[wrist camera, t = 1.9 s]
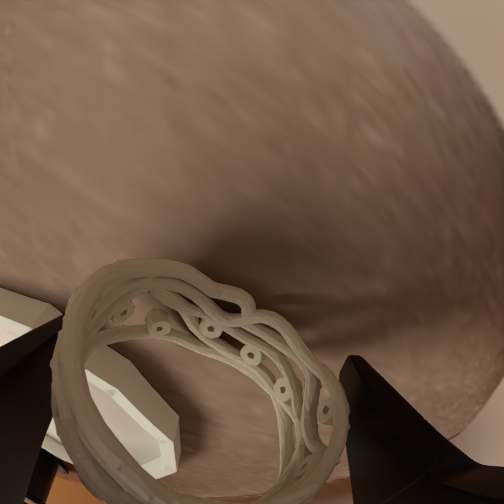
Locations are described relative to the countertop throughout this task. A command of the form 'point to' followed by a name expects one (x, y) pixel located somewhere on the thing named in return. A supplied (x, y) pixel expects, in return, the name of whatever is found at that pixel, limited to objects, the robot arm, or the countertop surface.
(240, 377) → the countertop surface
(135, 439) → the ring dish
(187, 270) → the bracelet
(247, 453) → the countertop surface
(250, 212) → the countertop surface
